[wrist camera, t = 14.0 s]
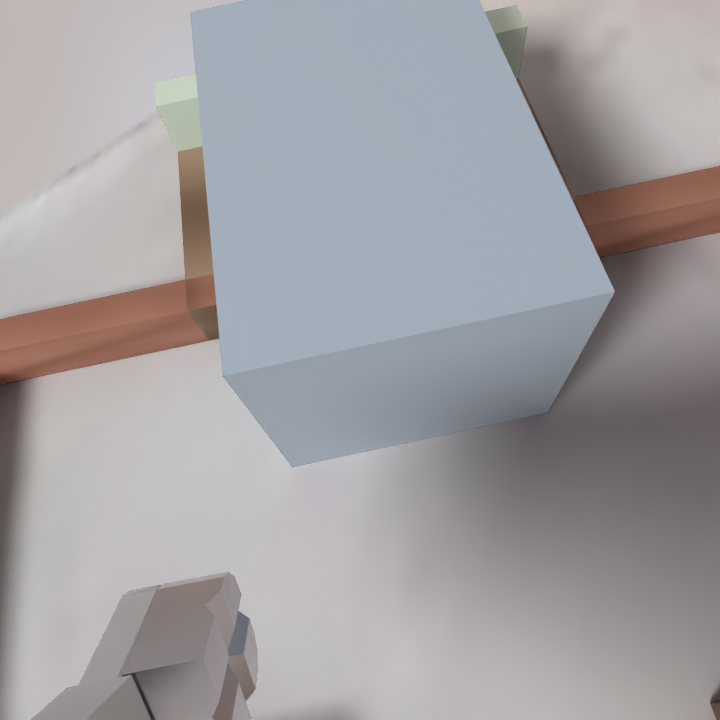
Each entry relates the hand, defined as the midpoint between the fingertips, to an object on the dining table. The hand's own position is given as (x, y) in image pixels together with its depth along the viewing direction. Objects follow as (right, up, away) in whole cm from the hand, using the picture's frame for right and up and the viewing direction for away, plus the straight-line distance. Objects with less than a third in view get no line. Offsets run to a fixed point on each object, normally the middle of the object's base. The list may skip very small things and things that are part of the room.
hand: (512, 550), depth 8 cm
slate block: (-1, +6, +12) cm, 13 cm away
